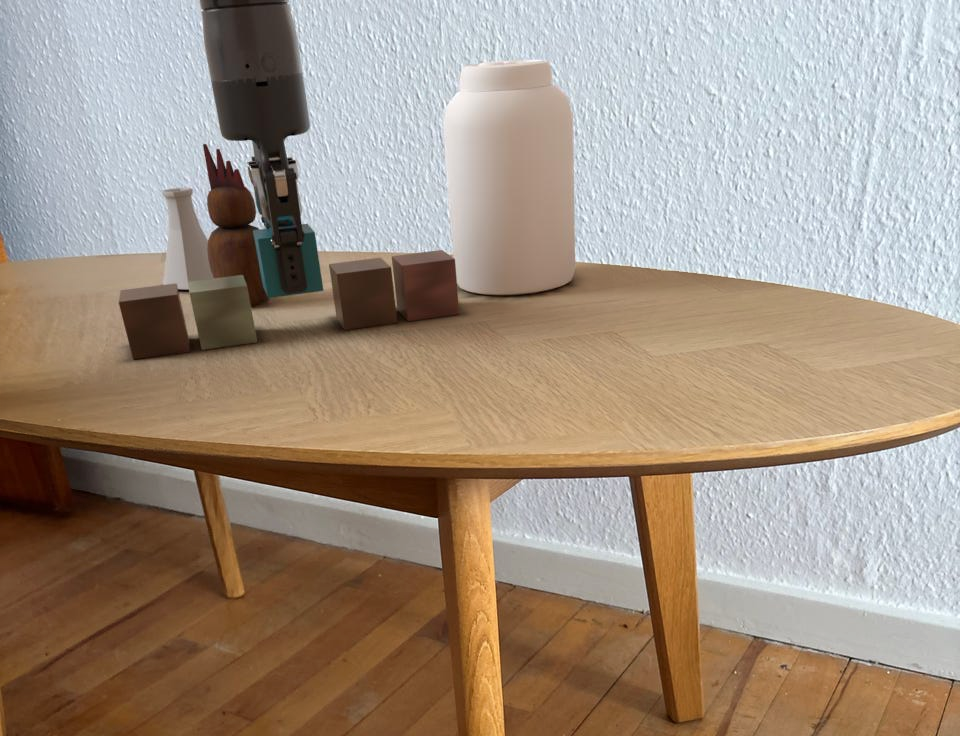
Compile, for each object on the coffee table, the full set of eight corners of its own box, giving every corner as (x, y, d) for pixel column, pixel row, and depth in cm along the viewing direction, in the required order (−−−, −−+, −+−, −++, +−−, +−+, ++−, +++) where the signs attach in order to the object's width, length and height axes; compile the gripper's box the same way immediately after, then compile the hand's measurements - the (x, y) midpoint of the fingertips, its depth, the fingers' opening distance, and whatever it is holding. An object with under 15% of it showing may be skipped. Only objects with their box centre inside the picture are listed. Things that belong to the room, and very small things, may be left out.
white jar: (453, 301, 98) (435, 68, 88) (457, 273, 109) (441, 63, 98) (580, 292, 98) (577, 58, 87) (571, 266, 108) (567, 54, 98)
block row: (133, 359, 88) (118, 301, 85) (134, 345, 92) (120, 290, 89) (459, 314, 94) (455, 258, 91) (446, 303, 98) (442, 249, 95)
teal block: (268, 298, 88) (257, 239, 86) (263, 287, 93) (252, 230, 90) (323, 291, 89) (314, 232, 87) (316, 280, 94) (307, 223, 91)
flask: (186, 294, 109) (165, 196, 104) (152, 287, 114) (130, 193, 108) (241, 280, 114) (223, 185, 108) (205, 274, 118) (186, 183, 113)
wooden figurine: (208, 304, 104) (175, 146, 97) (256, 293, 108) (227, 139, 100) (241, 313, 100) (210, 148, 92) (290, 301, 103) (263, 140, 95)
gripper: (206, 74, 87) (244, 275, 96) (214, 78, 75) (257, 308, 84) (291, 66, 88) (321, 266, 97) (312, 69, 77) (344, 296, 86)
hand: (291, 284), depth 91 cm, fingers closed on teal block, 5 cm apart
